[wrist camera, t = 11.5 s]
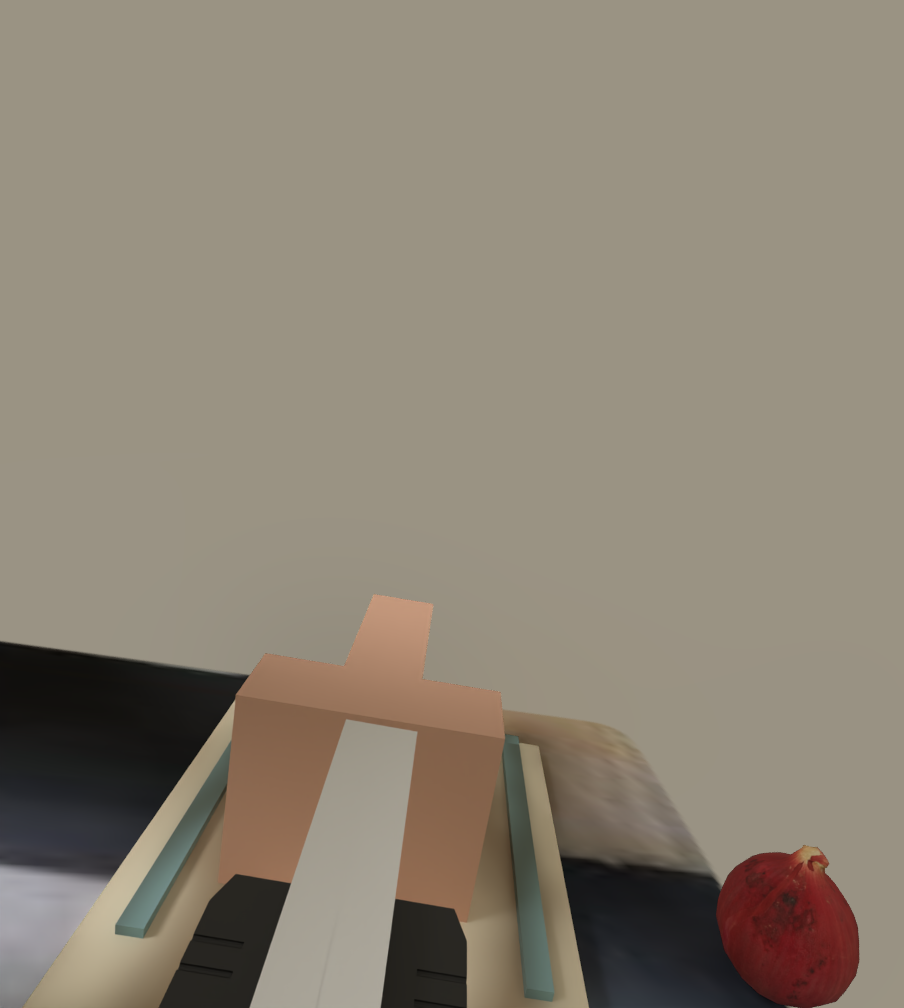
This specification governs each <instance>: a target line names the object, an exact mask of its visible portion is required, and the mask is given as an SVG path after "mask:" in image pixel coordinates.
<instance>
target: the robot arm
mask: <svg viewBox="0 0 904 1008" xmlns="http://www.w3.org/2000/svg"><path fill="white" fill-rule="evenodd" d="M416 739H417V732H416V731H411V730H405V729H399V728H393V727H388V726H382V725H376V724H371V723H365V722H359V721H354V720H348V719H346V721H345V724H344V727H343V730H342V733H341V736H340V739H339V742H338V745H337V748H336V751H335V754H334V757H333V760H332V763H331V766H330V769H329V772H328V775H327V778H326V781H325V784H324V787H323V790H322V793H321V796H320V799H319V802H318V805H317V808H316V811H315V814H314V817H313V820H312V823H311V826H310V829H309V832H308V835H307V838H306V841H305V844H304V847H303V850H302V853H301V856H300V859H299V862H298V865H297V868H296V871H295V874H294V877H293V880H292V882H291V883H287V882H281V881H275V880H269V879H263V878H257V877H252V876H246V875H240V874H235V875H234V876H233V877H232V878H231V879H230V880H229V881H228V882H227V883H226V884H225V885H224V886H223V887H222V888H221V889H220V890H219V891H218V892H217V893H216V894H215V895H214V896H213V897H212V898H211V899H210V900H209V902H208V904H207V906H206V908H205V911H204V913H203V915H202V917H201V919H200V921H199V923H198V925H197V927H196V930H195V932H194V934H193V938H192V940H190V942H189V944H188V946H187V949H186V951H185V953H184V955H183V957H182V959H181V961H180V965H179V968H178V970H176V972H175V974H174V976H173V978H172V980H171V982H170V984H169V986H168V989H167V991H166V993H165V995H164V997H163V999H162V1001H161V1003H160V1005H159V1008H467V984H466V981H467V940H466V937H465V935H464V932H463V930H462V927H461V925H460V922H459V919H458V917H457V914H456V912H455V909H452V908H446V907H441V906H435V905H429V904H423V903H417V902H411V901H405V900H399V899H395V896H396V889H397V881H398V874H399V866H400V859H401V851H402V844H403V836H404V829H405V821H406V814H407V806H408V799H409V791H410V784H411V776H412V769H413V761H414V754H415V746H416Z"/></svg>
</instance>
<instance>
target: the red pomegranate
mask: <svg viewBox="0 0 904 1008" xmlns="http://www.w3.org/2000/svg"><path fill="white" fill-rule="evenodd" d="M828 865H829V862H828V860H827V859H826V857H825V856H824V854H823V853H822V852H821V851H820V850H819V849H818V847H809V846H806V845H803V847H802V848H801V849H799V850H798V851H796V852H794V853H793V854H791V855H790V854H786V853H781V852H778V853H777V852H776V853H762V854H757V855H754V856H752V857H750V858H748V859H747V860H745V861H744V862H742V863H740V864H739V865H737V866H736V867H735V868H734V869H733V870H732V871H731V872H730V873H729V875H728V876H727V879H726V881H725V883H724V885H723V887H722V889H721V892H720V895H719V898H718V904H717V913H716V917H717V921H718V925H719V930H720V934H721V938H722V943H723V947H724V950H725V952H726V954H727V955H728V957H729V959H730V960H731V962H732V964H733V965H734V967H735V968H736V970H737V972H738V973H739V974H740V976H741V977H742V979H743V980H745V981H746V982H747V983H748V984H749V985H750V986H751V987H752V988H753V989H754V990H755V991H756V992H757V993H758V994H760V995H762V996H764V997H766V998H768V999H769V1000H771V1001H773V1002H775V1003H777V1004H781V1005H787V1006H792V1007H798V1008H812V1007H816V1006H821V1005H825V1004H829V1003H832V1002H836V1001H837V1000H838V999H839V998H840V996H842V994H843V993H844V992H845V991H846V989H847V988H848V987H849V985H850V984H851V982H852V980H853V979H854V978H855V976H856V973H857V968H858V964H859V936H858V927H857V923H856V920H855V917H854V914H853V912H852V910H851V908H850V906H849V904H848V903H847V901H846V900H845V898H844V896H843V895H842V893H841V892H840V891H839V889H838V887H837V886H836V884H835V883H834V882H833V881H832V880H831V878H830V877H829V876H828V875H826V874H825V868H827V866H828Z"/></svg>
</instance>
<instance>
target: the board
mask: <svg viewBox="0 0 904 1008" xmlns="http://www.w3.org/2000/svg"><path fill="white" fill-rule="evenodd" d="M234 710H235V701H234V702H233V704H232V705H231V707H230V708H229V710H228V711H227V713H226V714H225V715H224V717H223V718H222V720H221V721H220V723H219V724H218V726H217V727H216V728H215V730H214V731H213V733H212V734H211V736H210V737H209V739H208V740H207V741H206V743H205V744H204V746H203V747H202V749H201V750H200V752H199V753H198V754H197V756H196V757H195V759H194V760H193V762H192V763H191V765H190V766H189V767H188V769H187V770H186V772H185V773H184V775H183V776H182V778H181V779H180V780H179V782H178V783H177V785H176V786H175V788H174V789H173V791H172V792H171V793H170V795H169V796H168V798H167V799H166V801H165V802H164V804H163V805H162V806H161V808H160V809H159V811H158V812H157V814H156V815H155V817H154V818H153V819H152V821H151V822H150V824H149V825H148V827H147V828H146V830H145V831H144V832H143V834H142V835H141V837H140V838H139V840H138V841H137V843H136V844H135V845H134V847H133V848H132V850H131V851H130V853H129V854H128V856H127V857H126V858H125V860H124V861H123V863H122V864H121V866H120V867H119V869H118V870H117V871H116V873H115V874H114V876H113V877H112V879H111V880H110V882H109V883H108V884H107V886H106V887H105V889H104V890H103V892H102V893H101V895H100V896H99V897H98V899H97V900H96V902H95V903H94V905H93V906H92V908H91V909H90V911H89V912H88V913H87V915H86V916H85V918H84V919H83V921H82V922H81V924H80V925H79V926H78V928H77V929H76V931H75V932H74V934H73V935H72V937H71V938H70V939H69V941H68V942H67V944H66V945H65V947H64V948H63V950H62V951H61V952H60V954H59V955H58V957H57V958H56V960H55V961H54V963H53V964H52V965H51V967H50V968H49V970H48V971H47V973H46V974H45V976H44V977H43V978H42V980H41V981H40V983H39V984H38V986H37V987H36V989H35V990H34V991H33V993H32V994H31V996H30V997H29V999H28V1000H27V1002H26V1003H25V1004H24V1006H23V1007H22V1008H159V1005H160V1003H161V1001H162V999H163V997H164V995H165V993H166V991H167V989H168V986H169V984H170V982H171V980H172V978H173V976H174V974H175V972H176V970H178V968H179V965H180V961H181V959H182V957H183V955H184V953H185V951H186V949H187V946H188V944H189V942H190V940H192V938H193V934H194V932H195V930H196V927H197V925H198V923H199V921H200V919H201V917H202V915H203V913H204V911H205V908H206V906H207V904H208V902H209V900H210V899H211V898H212V897H213V896H214V895H215V894H216V893H217V892H218V891H219V890H220V889H221V888H222V887H223V886H224V885H225V884H222V883H218V875H219V865H220V855H221V844H222V834H223V824H224V813H225V803H226V793H227V782H228V772H229V761H230V751H231V741H232V730H233V720H234ZM460 925H461V927H462V930H463V932H464V935H465V937H466V940H467V981H466V984H467V1008H589V1005H588V1000H587V995H586V990H585V985H584V979H583V974H582V969H581V964H580V959H579V953H578V948H577V943H576V938H575V933H574V927H573V922H572V917H571V912H570V907H569V901H568V896H567V891H566V886H565V881H564V875H563V870H562V865H561V860H560V855H559V849H558V844H557V839H556V834H555V829H554V823H553V818H552V813H551V808H550V803H549V797H548V792H547V787H546V782H545V777H544V771H543V766H542V761H541V756H540V751H539V746H536V745H530V744H524V743H519V739H518V736H513V735H507V734H505V742H504V747H503V752H502V756H501V761H500V766H499V771H498V776H497V780H496V785H495V790H494V795H493V800H492V804H491V809H490V814H489V819H488V824H487V828H486V833H485V838H484V843H483V848H482V852H481V857H480V862H479V867H478V872H477V876H476V881H475V886H474V891H473V896H472V900H471V905H470V910H469V915H468V919H467V923H465V922H460Z"/></svg>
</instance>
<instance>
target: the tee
mask: <svg viewBox="0 0 904 1008" xmlns="http://www.w3.org/2000/svg"><path fill="white" fill-rule="evenodd" d="M432 610H433V604H430V603H423V602H418V601H412V600H406V599H399V598H393V597H387V596H381V595H375V594H374V595H373V597H372V600H371V602H370V605H369V607H368V610H367V612H366V614H365V617H364V619H363V622H362V624H361V626H360V629H359V631H358V634H357V636H356V638H355V641H354V643H353V646H352V648H351V650H350V653H349V656H348V658H347V660H346V663H345V665H344V666H339V665H333V664H327V663H321V662H315V661H308V660H303V659H297V658H291V657H285V656H279V655H273V654H267V653H266V654H265V655H264V656H263V658H262V659H261V660H260V662H259V663H258V665H257V666H256V667H255V669H254V670H253V671H252V673H251V674H250V676H249V677H248V679H247V680H246V681H245V683H244V684H243V686H242V687H241V688H240V690H239V691H238V693H237V694H236V699H235V710H234V720H233V730H232V741H231V751H230V761H229V772H228V782H227V793H226V803H225V813H224V824H223V834H222V844H221V855H220V865H219V875H218V883H222V884H226V883H227V882H228V881H229V880H230V879H231V878H232V877H233V876H234V875H235V874H240V875H246V876H252V877H257V878H263V879H269V880H275V881H281V882H287V883H291V882H292V880H293V877H294V874H295V871H296V868H297V865H298V862H299V859H300V856H301V853H302V850H303V847H304V844H305V841H306V838H307V835H308V832H309V829H310V826H311V823H312V820H313V817H314V814H315V811H316V808H317V805H318V802H319V799H320V796H321V793H322V790H323V787H324V784H325V781H326V778H327V775H328V772H329V769H330V766H331V763H332V760H333V757H334V754H335V751H336V748H337V745H338V742H339V739H340V736H341V733H342V730H343V727H344V724H345V721H346V719H348V720H354V721H359V722H365V723H371V724H376V725H382V726H388V727H393V728H399V729H405V730H411V731H416V732H417V739H416V746H415V754H414V761H413V769H412V776H411V784H410V791H409V799H408V806H407V814H406V821H405V829H404V836H403V844H402V851H401V859H400V866H399V874H398V881H397V889H396V896H395V899H399V900H405V901H411V902H417V903H423V904H429V905H435V906H441V907H446V908H452V909H455V912H456V914H457V917H458V919H459V922H465V923H467V919H468V915H469V910H470V905H471V900H472V896H473V891H474V886H475V881H476V876H477V872H478V867H479V862H480V857H481V852H482V848H483V843H484V838H485V833H486V828H487V824H488V819H489V814H490V809H491V804H492V800H493V795H494V790H495V785H496V780H497V776H498V771H499V766H500V761H501V756H502V752H503V747H504V742H505V732H504V722H503V712H502V702H501V692H498V691H492V690H485V689H480V688H473V687H467V686H461V685H455V684H449V683H443V682H437V681H430V680H425V679H422V678H423V671H424V664H425V657H426V651H427V644H428V637H429V630H430V623H431V617H432Z"/></svg>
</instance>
